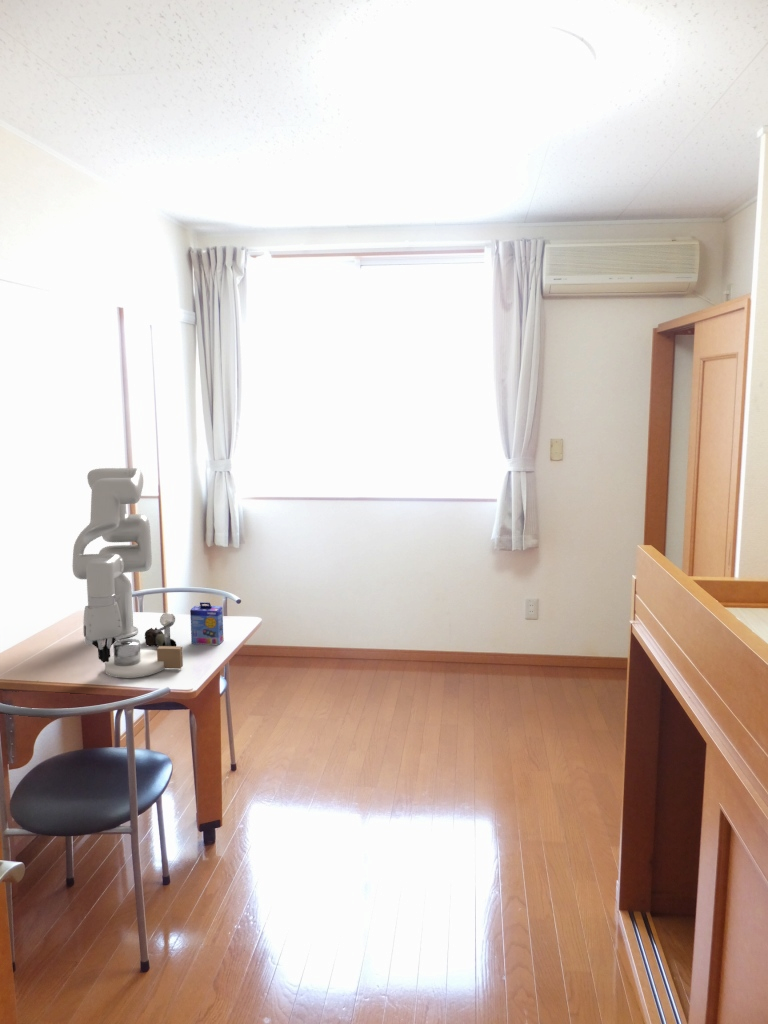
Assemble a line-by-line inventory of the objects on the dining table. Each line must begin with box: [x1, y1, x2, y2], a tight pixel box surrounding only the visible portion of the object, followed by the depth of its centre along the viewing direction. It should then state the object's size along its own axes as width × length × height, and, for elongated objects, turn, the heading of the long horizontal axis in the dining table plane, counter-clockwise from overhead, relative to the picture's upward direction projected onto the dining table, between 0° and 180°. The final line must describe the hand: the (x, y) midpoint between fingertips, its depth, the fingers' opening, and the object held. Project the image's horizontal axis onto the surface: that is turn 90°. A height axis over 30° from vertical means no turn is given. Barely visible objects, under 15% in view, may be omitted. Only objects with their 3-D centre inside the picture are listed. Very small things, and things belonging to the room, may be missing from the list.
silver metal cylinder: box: [112, 638, 141, 666], centre depth 223 cm, size 8×8×6 cm
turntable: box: [104, 645, 184, 679], centre depth 226 cm, size 23×18×6 cm
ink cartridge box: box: [189, 601, 225, 645], centre depth 251 cm, size 10×6×14 cm, turn 85°
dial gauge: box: [154, 612, 176, 646], centre depth 238 cm, size 5×8×14 cm
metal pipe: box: [144, 627, 178, 647], centre depth 248 cm, size 18×7×6 cm, turn 34°
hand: (104, 660), depth 220 cm, fingers closed
